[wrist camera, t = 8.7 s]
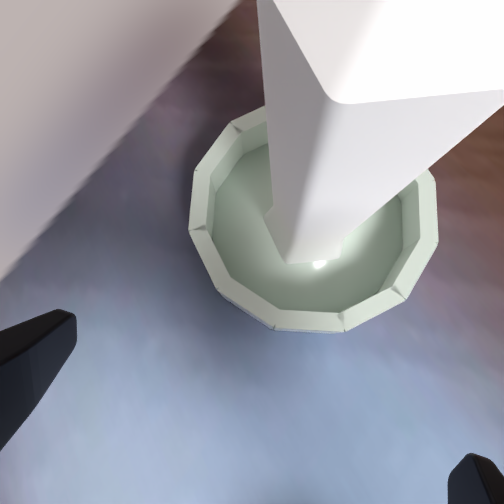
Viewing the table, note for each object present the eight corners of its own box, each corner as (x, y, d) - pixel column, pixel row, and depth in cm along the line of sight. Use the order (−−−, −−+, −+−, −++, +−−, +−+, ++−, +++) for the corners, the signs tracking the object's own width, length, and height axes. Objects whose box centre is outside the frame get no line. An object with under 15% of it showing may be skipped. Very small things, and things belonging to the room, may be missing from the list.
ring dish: (344, 378, 17) (358, 383, 14) (158, 254, 18) (142, 240, 16) (451, 193, 19) (479, 171, 16) (273, 94, 20) (275, 59, 18)
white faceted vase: (237, 245, 18) (148, -232, 3) (284, 167, 19) (383, -483, 4) (327, 295, 17) (729, -6, 3) (372, 213, 18) (856, -358, 3)
